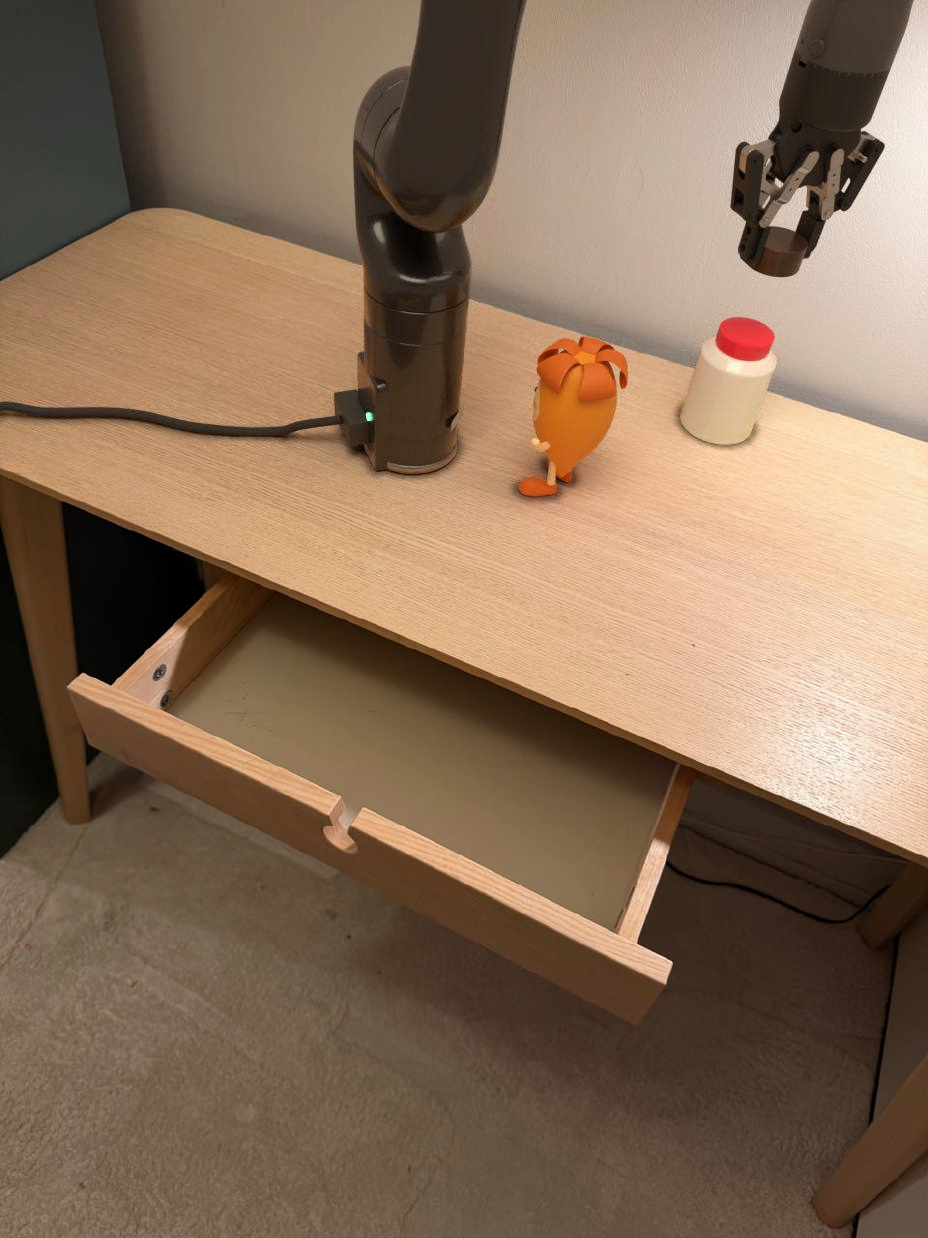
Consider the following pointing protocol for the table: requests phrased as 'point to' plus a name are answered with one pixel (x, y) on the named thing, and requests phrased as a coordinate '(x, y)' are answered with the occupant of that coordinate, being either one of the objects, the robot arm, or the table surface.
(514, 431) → the table surface
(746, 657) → the table surface
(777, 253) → the brown hockey puck
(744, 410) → the pill bottle
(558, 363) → the toy figure
